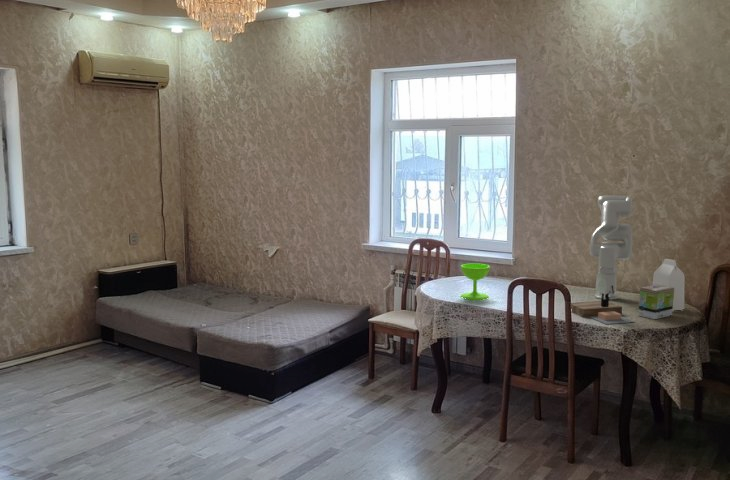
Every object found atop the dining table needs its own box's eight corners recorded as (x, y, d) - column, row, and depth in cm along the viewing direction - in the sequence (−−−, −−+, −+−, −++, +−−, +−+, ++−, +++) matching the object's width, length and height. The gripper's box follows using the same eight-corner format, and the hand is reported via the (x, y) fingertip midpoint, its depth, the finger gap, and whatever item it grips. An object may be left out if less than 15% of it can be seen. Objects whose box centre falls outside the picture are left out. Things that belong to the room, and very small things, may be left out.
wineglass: (493, 296, 379) (494, 265, 377) (482, 301, 366) (483, 269, 364) (467, 293, 388) (467, 262, 385) (455, 298, 374) (456, 266, 372)
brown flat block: (568, 310, 347) (568, 303, 346) (605, 308, 352) (606, 300, 351) (582, 317, 333) (583, 309, 333) (621, 314, 338) (622, 306, 338)
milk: (649, 306, 355) (652, 258, 351) (666, 304, 359) (669, 257, 355) (667, 312, 344) (670, 262, 340) (684, 310, 348) (687, 260, 344)
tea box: (656, 320, 328) (658, 290, 326) (637, 316, 336) (639, 287, 334) (672, 315, 337) (674, 286, 334) (654, 311, 345) (655, 283, 342)
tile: (605, 315, 325) (604, 320, 326) (621, 314, 327) (621, 319, 328) (598, 312, 331) (597, 317, 332) (614, 311, 333) (614, 316, 334)
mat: (589, 317, 333) (589, 316, 333) (617, 315, 337) (617, 314, 337) (605, 324, 320) (605, 323, 319) (635, 322, 323) (635, 321, 323)
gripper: (591, 268, 337) (589, 303, 340) (608, 273, 323) (606, 310, 326) (604, 267, 339) (602, 302, 342) (622, 273, 325) (620, 309, 327)
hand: (604, 306), depth 334 cm, fingers closed
